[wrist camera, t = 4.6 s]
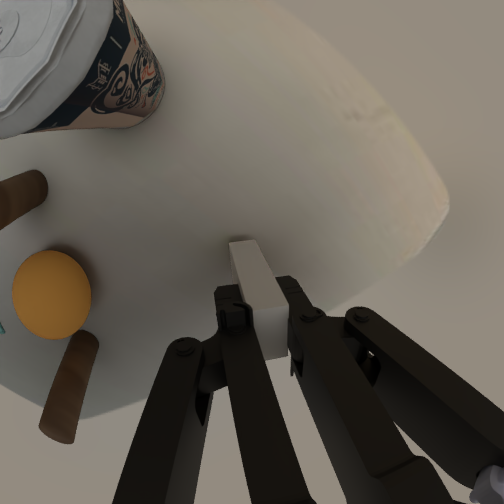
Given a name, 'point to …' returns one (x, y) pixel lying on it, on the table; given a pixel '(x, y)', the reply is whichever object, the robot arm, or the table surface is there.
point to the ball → (51, 295)
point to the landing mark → (1, 329)
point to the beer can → (74, 67)
